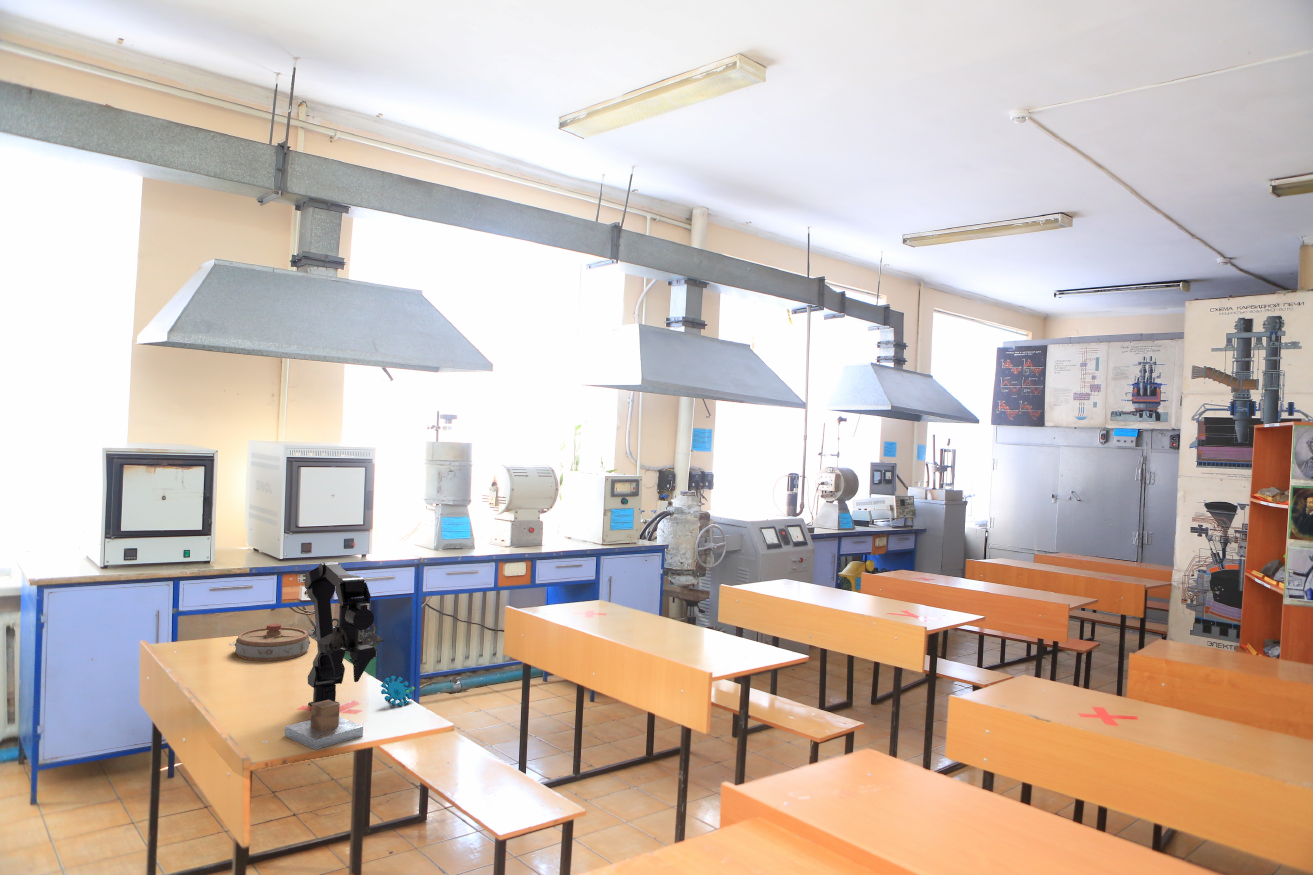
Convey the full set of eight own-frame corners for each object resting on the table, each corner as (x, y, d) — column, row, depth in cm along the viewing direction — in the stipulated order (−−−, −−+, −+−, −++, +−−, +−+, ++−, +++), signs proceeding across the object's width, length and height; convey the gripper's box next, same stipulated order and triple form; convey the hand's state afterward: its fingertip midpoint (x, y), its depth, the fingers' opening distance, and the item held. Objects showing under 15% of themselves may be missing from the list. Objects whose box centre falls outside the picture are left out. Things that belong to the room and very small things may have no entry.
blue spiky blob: (387, 704, 246) (379, 674, 252) (377, 715, 248) (369, 685, 254) (420, 702, 254) (411, 673, 260) (410, 713, 256) (402, 684, 262)
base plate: (284, 735, 222) (285, 726, 222) (332, 722, 233) (332, 713, 233) (314, 749, 214) (315, 739, 214) (362, 735, 225) (363, 726, 225)
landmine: (260, 665, 284) (262, 636, 284) (221, 652, 297) (222, 624, 297) (322, 652, 304) (324, 624, 304) (283, 640, 317) (284, 614, 317)
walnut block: (310, 726, 223) (311, 703, 223) (327, 721, 227) (328, 699, 227) (321, 730, 220) (322, 707, 220) (338, 726, 224) (339, 703, 224)
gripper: (303, 620, 234) (300, 676, 234) (343, 632, 223) (340, 691, 223) (339, 615, 243) (336, 669, 243) (379, 626, 232) (376, 683, 232)
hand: (346, 678), depth 235 cm, fingers open, 9 cm apart
